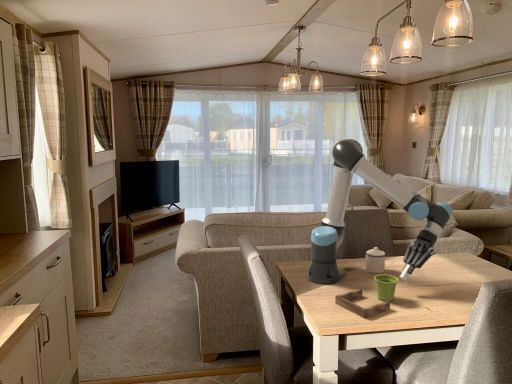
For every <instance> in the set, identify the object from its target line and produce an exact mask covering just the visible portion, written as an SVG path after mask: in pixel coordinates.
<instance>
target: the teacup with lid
mask: <svg viewBox="0 0 512 384" xmlns="http://www.w3.org/2000/svg"><path fill="white" fill-rule="evenodd" d="M365 260H366V261H365V271H367V272H368V273H372V274H383V273H384V272H385V266H386V265H385V260H386V253H385V251H383V250H380V249H379V247H377V246H375V247H373V248H372V249H368V250H367V251H366V252H365Z"/></svg>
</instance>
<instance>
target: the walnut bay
mask: <svg viewBox="0 0 512 384" xmlns="http://www.w3.org/2000/svg"><path fill="white" fill-rule="evenodd" d="M363 291H364V290H363V289H362V288H358V289H355V290H351V291H348V292H344V293H341V294H338V295H335V300H334V301H335V304H337V305H338V306H340V307H342V308H343V309H346V310H347V311H349V312H351V313H353V314H354V315H357V316H360V317H361V318H363V319H366V318H370V317H373V316H375V315H378V314H380V313H384V312H386V311H389V310H390V309H391V301H383V302H380V303H376V304H374V305H371V306H368V307H365V308H364V307H362V306H360V305H358V304H356V303H353V302H352V300H355V299H358V298H361V297H363Z"/></svg>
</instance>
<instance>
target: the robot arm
mask: <svg viewBox="0 0 512 384" xmlns="http://www.w3.org/2000/svg"><path fill="white" fill-rule="evenodd" d="M331 153H332V155H331V156H332V158H333V164H332V165H333V168H334V170H335V171H334V176H333V180H332V184H331V185H332V186H331V189H330V195H329V200H328V204H327V208H326V213H325V216H324V217H323V218H322V219H321V222H320V226H317V227H314V228H313V229H312V231H311V234H310V235H311V236H310V240H311V242H310V243H311V244H310V248H311V249H310V250H311V251H310V253H311V254H310V264H309V266H308V268H307V269H308V270H307V273H306V274H307V275H306V278H307V279H308V280H309V282H311V283H316V284H322V285H325V284H326V285H331V284H335V283H338V282H339V281H340V280H341V272H340V269H339V267H338V263H337V261H338V260H337V259H338V258H337V257H338V255H337V254H338V251H337V250H338V248H339V246H340V245H341V244H342V243H343V241H344V239H345V229H346V223H345V222H344V219H345V214H346V209H347V205H348V202H349V201H348V200H349V197H350V196H349V195H350V192H351V191H350V190H351V186H352V183H353V177H354V174H356V175H357V176H358V177H360V179H362V180H364V181H365V182H366V183H368V184H369V185H370V186H372V187H373V188H374V189H376V190H377V191H378V192H379V193H381V194H382V195H384V196H385V197H386V198H388V199H389V200H390V201H392V202H393V203H394V204H395V205H397V206H398V207H400V208H401V209H402V210H403V211H405V212H406V213H407V214H409V215H408V216H410V218H411V219H412V220H414V221H423V220H425V219H426V222H424V224H423V226H422V227H421V230H420V231H419V232H418V234H417V236H416V239H415V240H414V241H413V242H409V241H408V242H407V243H406V244H407V245H406V246H407V247H406V250H405V253H404V256H403V259H402V262H403V264H405V265H403V268H402V272H401V274H400V275H399V278H400V279H401V280H402V281H404V282H406V281H407V280H408V278H409V276H410V275H412V274H413V272H414V270H415V269H418V270H419V269H421V268H422V267H423V266H424V265H425V264H426V263H427V262H428V261H429V259H430V258H431V257H433V256H434V255H436V254H437V253H436V251H435V250H434V249H433V248H434V247H433V246H435V245H436V242H437V241H438V239H439V237H440V236H441V234H442V232H443V230H444V228H445V227H446V225H447V224H448V222H449V220H451V217H452V215H453V214H454V213H453V212H454V209H453V208H452V206H451V205H449V204H448V203H446V202H443V201H439V202H437V203H434V202H433V201H431V200H429V199H427V198H426V197H425V196H422V195H421V194H420V193H417V192H415V191H409V190H408V189H407V188H406V187H404V186H402V184H401V183H399V182H398V181H396V180H395V179H394V178H392V177H391V176H390V175H388V174H387V173H386V172H384V171H383V170H382V169H380V168H378V166H376V165H375V164H373V163H372V162H370V161H369V160H368V159H367V158H366V155H365V154H364V149H363V147H362V144H361V143H360V142H359V141H357V140H356V139H353V138H346V139H340V140H338V141H337V142H336V143H335V144H334V146H333V148H332V152H331Z"/></svg>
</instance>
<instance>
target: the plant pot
mask: <svg viewBox="0 0 512 384" xmlns="http://www.w3.org/2000/svg"><path fill="white" fill-rule="evenodd" d="M373 278H374V281H375V287H376V294H377V298H378V299H379V301H383V302H386V301H389V302H392V301H394V298H395V292H396V287H397V284H398V282H399V278H398V277H396V276H394V275H392V274H383V273H379V274H376V275H375V276H373Z"/></svg>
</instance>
